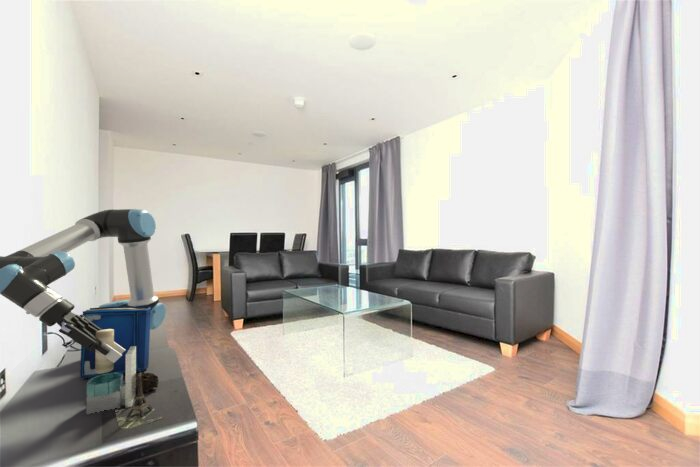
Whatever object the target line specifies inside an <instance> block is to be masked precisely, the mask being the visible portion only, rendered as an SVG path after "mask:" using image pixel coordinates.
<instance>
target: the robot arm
mask: <svg viewBox="0 0 700 467" xmlns="http://www.w3.org/2000/svg"><path fill="white" fill-rule="evenodd" d="M155 221H156V220H155V218H154V217H153V215H152V214H151V213H150V212H149V211H148V210H146V209H140V208H139V209H137V208H130V209H129V208H127V209H124V208H123V209H120V208H119V209H104V210H102V211H98V212H96V213H92V214H90V215H88V216H85V217H83V218H81V219H78V220H77V221H76V222H75V223H74V225H71V226H70V227H68V228H65V229H63V230H61V231H58V232H57V233H55V234H52V235H51V236H48V237H46V238H43V239H41V240H38V241H37V242H34V243H32V244H31V245H28V246H26V247H23V248H22V249H19V250H17V251H16V252H13V253H10V254H8V255H5V256H1V255H0V295H1V296H2V297H4V298H6V299H7V300H9V301H10V302H11V303H14V304H15V305H16V306H18V307H19V308H21V309H23V310H24V311H25V313H26V315H31V316H33V317H34V318H38V317H39V318H38V319H39V320H38V321H40V322H41V323H43V325H46V326H47V327H52V326H54V325H56V324H57V325H58V326H59V327H60V329H58V332H59V333H61V334H63V335H65V336H67V337H68V338H70V339H71V340H72V341H74V342H76V343H77V344H78V345H80V346H81V345H82V346H83V347H85V348H86V349H88V350H89V351H90V352H93V351H94V350H95V349H96V351H97V352H99V353H100V354H102V355H103V356H104V357H106V358H107V359H109V360H110V361H112V362H113V363H115V362H116V361H117V360H118V359H119V358H120V357H121V356H122V353H123V352H124V351H125V349H124V348H123V347H121V346H120V345H118V344H117V343H115V342H114V349H113V348H112V347H110V346H109V345H108V344H106V343H105V342H103V343H102V342H101V341H100V340H98V339H97V338H96V332H97V331H100V330H102V329H101V328H99V327H98V326H96V325H95V324H94V323H92V322H91V321H89V320H88V319H87V318H86V317H85V316H84V315H83V313H82V314H75V313H74V312H72V311H73V310H74V308H75V304H73V303H72V302H70V301H68V299H65V298H63V296H62V295H61V294H59V293H58V292H57V291H55V290H53V289H52V288H51V287H49V285H50V284H52V283H54V282H56V281H57V280H59V279H61V278H63V277H65V276H66V275H68V273H70V272H72V271H73V270H75V266H76V263H75V260H74V258H73V257H72V255H71V254H69V252H71V251H73V250H74V249H76V248H78V247H80V246H82V245H84V244H86V243H89V242H94V241H97V240H99V239H103V238H117V243H118V244H120V245H121V246H123V253H124V259H125V266H126V275H127V280H128V282H127V283H128V286H129V295H130V299H119V300H115V301H110V302H107V303H103V304H101V305H100V306H99V307H111V306H135V307H150V308H151V317H150V331H151V330H157V329H158V328H159V327H160V326H162V324H163V322H164V320H165V319H166V314H167V307H166V305H165V304H164V303H163V302H160V300H159V296H158V295H156V294H155V293H154V284H153V279H152V278H153V277H152V271H151V270H152V269H151V262H150V255H149V246H148V243H149V242H150V241H151V240H152V238H151V237H152V236H153V235H155V232H156V229H157V227H156V222H155Z"/></svg>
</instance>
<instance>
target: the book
mask: <svg viewBox="0 0 700 467" xmlns="http://www.w3.org/2000/svg"><path fill="white" fill-rule="evenodd" d="M82 315H84V316H85V317H86V318H87V319H88V320H89V321H91V322H92V323H94V324H95V325H96V326H98V327H99V328H101V329H102V330H105V329H114V342H115V343H117V344H118V345H120V346H121V347H123V348H124V349H125V351H124V352H123V353H122V356H121V357H120V358H119V359H118V360H117V361H116V362H115V363H114V369H113V370H112V371H110V372H106V373H101V374H107V373H113V372H117V373H122V374H125V372H126V353H127V352H128V350H129V348H130V347H132V346H136V373H140V372H143V371H145V370H147V369H148V368H149V363H150V360H149V359H150V340H151V339H150V338H151V337H150V336H151V335H150V334H151V330H150V317H151V308H150V307H135V306H111V307H100V306H98V307H89V309H85V310H84V311H83V310H82ZM80 346H81V347H80V364H79V366H80V368H79V379H91V378H94V377H96V376H99V375H101V374H97V373H95V354H96V349H95V350H94V351H93V352H90V351H89V350H88V349H86V348H85V347H83V346H82V345H80Z"/></svg>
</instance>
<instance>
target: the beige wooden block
mask: <svg viewBox="0 0 700 467" xmlns="http://www.w3.org/2000/svg"><path fill="white" fill-rule="evenodd" d="M96 338H97V339H98V340H100V341H101V342H102V343H103V342H105V343H106V344H108V345H109V346H110V347H112V348H113V349H114V329H105V330H100V331H97V332H96ZM113 369H114V363H113V362H112V361H110V360H109V359H107V358H106V357H104V356H103V355H102V354H100V353H99V352H97V351H96V354H95V373H97V374H101V373H106V372H110V371H112V370H113Z"/></svg>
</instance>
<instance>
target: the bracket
mask: <svg viewBox="0 0 700 467" xmlns="http://www.w3.org/2000/svg"><path fill="white" fill-rule="evenodd" d="M136 375H137V372H136V346H132V347H130V348H129V350H128V352H127V353H126V372H125V380H123V377H124V375H123V374H122V373H117V372H113V373H107V374H101V375H99V376H96V377H94V378H89V379H88V380H87V382H86V412H85V413H86V414H87V415H91V413H92V414H96V413H95V412H97V413H101V412H100V411H102V412H105V411H104V410H107V411H111V410H110V409H112V410H116V409H115V408H117V409H121V408H122V407H123V406H125V408H124V409H127V408H132V406H133V405H134V404H133V403H134V402H135V401H134V400H136V397H137V392H136Z"/></svg>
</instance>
